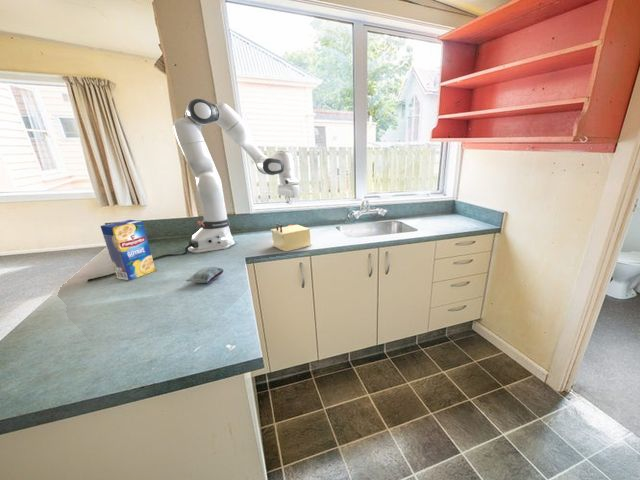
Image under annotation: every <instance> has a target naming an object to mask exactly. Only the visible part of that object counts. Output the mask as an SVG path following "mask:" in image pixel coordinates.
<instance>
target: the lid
mask: <svg viewBox="0 0 640 480" xmlns="http://www.w3.org/2000/svg"><path fill="white" fill-rule="evenodd" d="M291 225H292V226H288V225H287V226H283V225H282V224H280V223H277V222H276V223H275V224H274V226H275V228H271V229H270V232H271V233H272V232H274V233H277V234H279V235H281V236H283V235H288V234H293V233H298V232H303V231H308V230H310V229H311V228H309V227H306V226H303V225H300V224H291ZM310 231H311V230H310Z"/></svg>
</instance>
